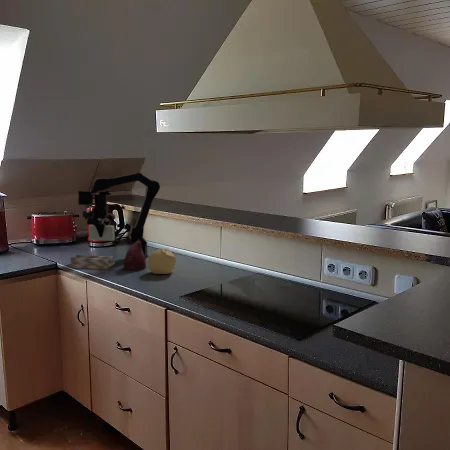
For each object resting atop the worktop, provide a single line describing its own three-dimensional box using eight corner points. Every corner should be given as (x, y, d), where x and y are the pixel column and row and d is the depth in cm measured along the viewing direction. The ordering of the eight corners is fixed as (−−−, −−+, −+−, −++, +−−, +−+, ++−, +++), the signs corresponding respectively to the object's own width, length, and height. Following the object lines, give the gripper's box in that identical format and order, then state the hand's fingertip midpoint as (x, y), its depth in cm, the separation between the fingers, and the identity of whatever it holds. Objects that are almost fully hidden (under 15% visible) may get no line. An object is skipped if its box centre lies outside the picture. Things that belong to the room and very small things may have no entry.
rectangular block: (114, 239, 233) (114, 225, 232) (112, 240, 231) (112, 226, 230) (91, 239, 235) (91, 224, 234) (89, 239, 233) (88, 225, 232)
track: (114, 263, 227) (114, 255, 226) (105, 269, 217) (105, 260, 216) (79, 262, 230) (79, 253, 229) (68, 267, 220) (68, 258, 220)
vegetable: (149, 274, 221) (157, 243, 219) (133, 276, 213) (142, 244, 210) (133, 265, 227) (141, 235, 224) (117, 266, 218) (125, 235, 215)
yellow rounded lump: (179, 274, 208) (178, 250, 206) (151, 277, 203) (151, 252, 202) (172, 268, 218) (171, 245, 217) (145, 271, 214) (145, 247, 212)
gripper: (94, 201, 241) (95, 232, 243) (75, 206, 223) (77, 239, 225) (114, 202, 239) (116, 233, 241) (97, 207, 221) (99, 240, 223)
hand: (102, 236), depth 233 cm, fingers closed on rectangular block, 2 cm apart
